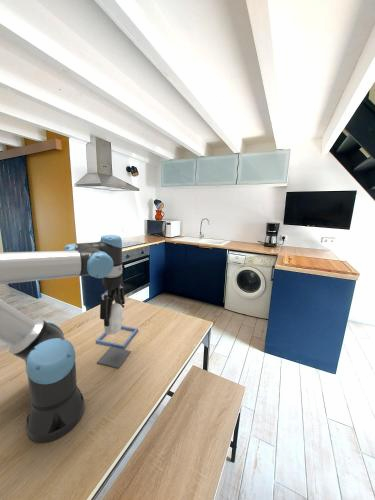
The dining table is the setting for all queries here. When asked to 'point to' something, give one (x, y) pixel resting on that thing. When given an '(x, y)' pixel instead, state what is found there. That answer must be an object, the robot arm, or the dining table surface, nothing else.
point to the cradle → (100, 341)
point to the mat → (113, 357)
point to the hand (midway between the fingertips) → (113, 326)
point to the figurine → (116, 318)
